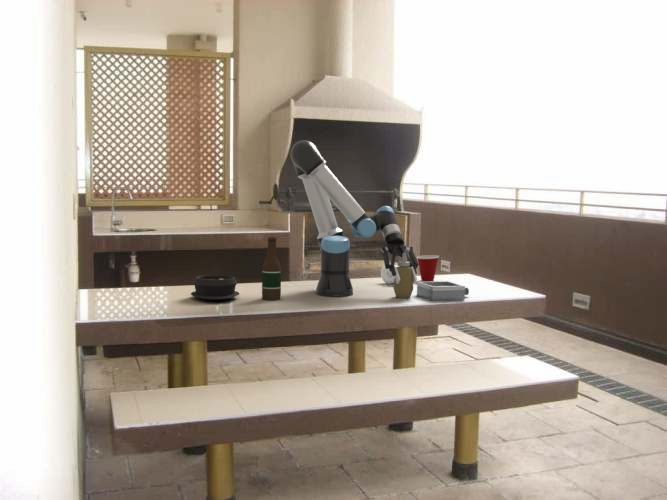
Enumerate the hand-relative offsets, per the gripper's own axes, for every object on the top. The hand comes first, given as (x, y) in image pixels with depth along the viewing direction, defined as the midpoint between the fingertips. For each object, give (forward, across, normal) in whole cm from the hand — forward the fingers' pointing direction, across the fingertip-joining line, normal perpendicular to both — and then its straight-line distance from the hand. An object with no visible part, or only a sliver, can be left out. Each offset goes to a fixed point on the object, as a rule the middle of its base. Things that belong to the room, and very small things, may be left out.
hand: (406, 281), depth 268 cm
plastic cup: (-29, -31, -39) cm, 58 cm away
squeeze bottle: (+3, 0, -8) cm, 8 cm away
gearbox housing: (+5, -18, -5) cm, 19 cm away
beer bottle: (-1, +53, -11) cm, 54 cm away
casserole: (-4, +74, -15) cm, 76 cm away
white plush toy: (-25, -11, -35) cm, 45 cm away
